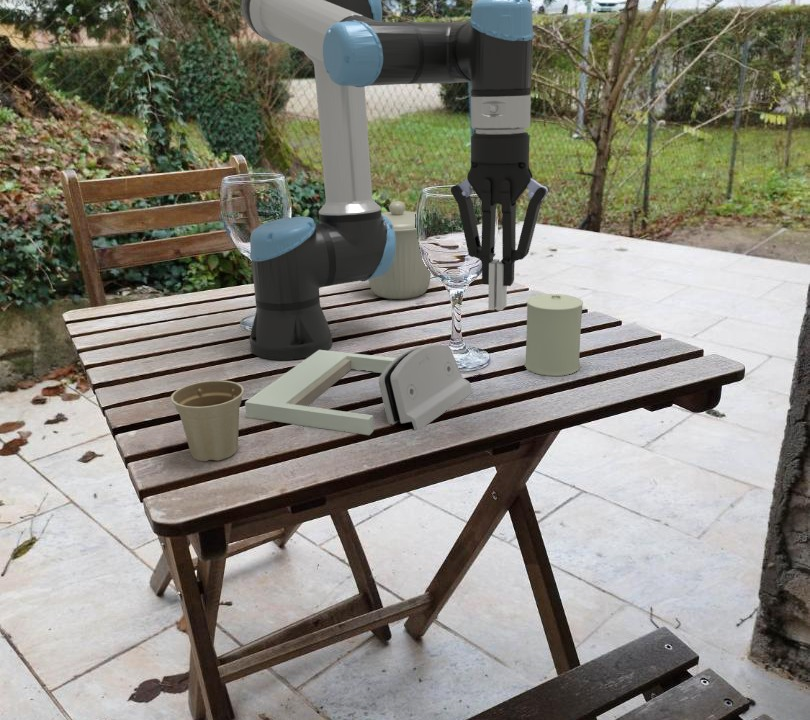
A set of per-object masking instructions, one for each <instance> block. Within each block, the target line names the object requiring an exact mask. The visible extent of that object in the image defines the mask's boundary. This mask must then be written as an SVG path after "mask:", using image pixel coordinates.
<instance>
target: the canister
mask: <svg viewBox="0 0 810 720" xmlns="http://www.w3.org/2000/svg"><path fill="white" fill-rule="evenodd" d="M388 207H389V208H388V209H389V211H385V212H381V214H382V215H383V216H385V217H387V218H388V219H389V220H390V221H391V223H392V225H393V227H392V229H393V230H394V231H395V236H396V251H395V257H394V260H393V263H392V265H391V267H390V268H389V270H388V271H387V272H386V273H385V274H384V275H382V276H380V277H377V278H372V279H369V280H368V284H369V288H370V289H371V291H372V293H374V295H376V296H378V297H380V298H382V299H389V300H405V299H407V300H408V299H412V298H416V297H419V296H421V295H424V294H426V292H427V290H428V288H429V286H430V283H431V274H432V272H431V273H430V271H429V270H428V269H427V267H426V266H425V264H424V262H423V260H422V256H421V253H420V249H419V244H418V239H417V234H416V228H415V214H416V212H417V211H406V205H405V203H404V202H402V201H400V200H396V201H392V202H391V203H390V204H389V206H388Z"/></svg>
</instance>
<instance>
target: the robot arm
mask: <svg viewBox="0 0 810 720" xmlns="http://www.w3.org/2000/svg"><path fill="white" fill-rule="evenodd" d="M241 10H242V15H243V17H244V19H245V21H246V23H247V25H248V26H249V28H250V29H251V31H253V32H254V33H255V34H256V35H258V36H259V37H261V38H263V39H264V40H266V41H269V42H270V43H276V44H284V43H287V44H288V45H291V46H292V47H294V48H296V49H298V50H300V51H302V52H303V53H304V55H305V56H306V57H307V58H308V59H310V60H311V61H312V63H313V67H314V80H315V90H316V101H317V102H316V103H317V112H318V113H317V114H318V124H319V136H320V146H321V149H320V150H321V159H322V170H323V171H322V172H323V183H324V193H325V195H324V196H325V203H324V204H323V205H322V207H320V209H319V210H318V220H319V221H318V223H316V222H315V221H314V219H313V218H311V217H310V216H300V215H299V216H294V217H293V216H292V217H290V216H288V217H283V218H279V219H274V220H271V221H267V222H265V223H263V224H260V225H258V226H257V227H255V228H254V229H253V230H252V231H251V233H250V234H251V235H250V237H249V238H250V239H249V240H250V241H249V243H250V253H249V258H250V261H251V267H252V278H253V289H254V298H255V308H256V309H255V314H254V318H253V323H252V327H251V331H250V335H249V336H250V337H249V346H250V351H251V353H252V354H253V355H254V356H256V357H259V358H262V359H267V360H276V361H277V360H278V361H291V360H299V359H307V358H308V357H310V356H311V355H312V354H314V353H315V352H317V351H318V350H326V351H329V350H330V349H331V347H332V346H333V337H332V336H333V335H332V330H331V328H330V326H329V323H328V321H327V318H326V316H325V314H324V311H323V309H322V306H321V301H320V300H321V299H320V289H321V288H324V287H331V286H336V285H342V284H349V283H355V282H367V281H369V279H372V278H377V277H380V276H382V275H384V274H385V273H386V272H387V271H388V270H389V268H390V267H391V265H392V263H393V260H394V257H395V251H396V236H395V231H394V230H393V229H392V227H393V225H392V223H391V221H390V220H389V219H388V218H387V217H385V216H383V215H382V214H381V213H382V207H381V205H379V204H378V203H377V202H376V201H375V200H374V199H373V189H372V173H371V172H372V171H371V161H370V160H371V159H370V148H369V147H370V146H369V131H368V128H369V127H368V116H367V103H366V102H367V100H366V87H372V86H391V85H393V86H394V85H415V84H416V85H418V84H419V85H422V84H423V85H424V84H439V85H440V84H441V85H443V84H455V83H457V84H458V83H470V84H471V85H470V87H471V89H470V127H471V128H472V129H473V130H475V132H474V133H472V135H471V136H470V169H469V170H468V171H467V172H468V173H467V175H466V177H467V178H465V179H464V180H463V181H461V182H460V183H457V184H455V185H452V186H451V188H450V193H451V195H452V197H453V198H454V200H455V201H456V203H457V206H458V211H459V215H460V220H461V226H462V229H463V234H464V239H465V244H466V248H467V253H468V255H469V257H472V258H476V259H478V260H480V262H481V282H482V285H487V286H488V308H487V309H488V311H495V310H496V311H503V310H504V309H505V308H506V307H507V302H508V301H507V299H508V293H507V292H508V287H511V286H512V285H513V283H514V282H515V262H517V261H519V260H521V261H522V260H523V259H525V258H526V257H527V255H528V254H529V252H530V248H531V244H532V241H533V236H534V233H535V232H534V231H535V228H536V225H537V220H538V217H539V213H540V209H541V204H542V202H543V201H544V199H545V198H546V197H547V195H548V194H549V192H550V188H549V186H547V185H546V184H544V185H543V184H541V183H539V182H538V181H536V180H535V179H534V178H533V172H532V170H531V168H530V136H531V135H530V134H529V132H527V131H526V129H528V128H529V127H531V101H532V95H531V88H532V71H533V70H532V69H533V67H532V65H533V40H534V37H535V33H534V28H533V27H534V26H533V25H534V24H533V22H534V21H533V7H532V3H531V2H530V0H476V1H474V3H472V6H471V10H470V11H471V12H470V17H469V18H470V19H469V20H467V21H456V22H454V21H453V22H452V21H451V22H449V21H448V22H447V21H446V22H445V21H444V22H443V21H441V22H440V21H439V22H437V21H436V22H435V21H434V22H433V21H431V22H429V21H428V22H425V21H416V22H415V21H403V22H400V21H399V22H398V21H383V6H382V0H241ZM527 188H528V193H527V197H528V198H529V199H530V200H529V202H528V205H527V208H526V212H525V216H524V220H523V224H522V229H521V233H520V236H519V240H518V244H517V245H516V243H517V242H516V239H517V238H516V235H517V233H516V231H517V230H516V224H517V223H516V216H517V215H516V213H517V201H518V200H519V199H520V197H521V196H522V194H523V193H524V192H525V191H526V189H527ZM472 189H473V191H474V192H475V194H476V195H477V197H478V198H479V200H480V201H481V213H482V215H481V238H480V235H479V234H480V233H479V229H478V224H477V220H476V214H475V210H474V205H473V201H472V197H471V195H472V192H473V191H472ZM498 205H500V206H501V208H500V211H501V214H502V215H501V217H502V219H501V220H502V221H501V222H502V226H501V228H502V229H501V230H502V231H501V232H502V233H501V234H502V239H501V240H502V242H501V243H502V249H501V250H502V251H501V252H502V256H501V257H502V259H501V260H500V259H499V258H498V259H497V258H494V257H496V253H495V247H496V245H495V241H496V213H497V211H496V210H497V207H498ZM516 246H517V247H516Z"/></svg>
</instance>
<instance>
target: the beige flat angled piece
mask: <svg viewBox="0 0 810 720" xmlns="http://www.w3.org/2000/svg"><path fill="white" fill-rule="evenodd" d="M396 358H397V357H389V356H388V357H387V356H382V355H371V354H363V353H362V354H361V353H354V352H353V353H352V352H343V351H336V350H335V351H333V350H327V351H326V350H318V351H317V352H315V353H314V354H312V355H311V356H310V357H307V358H304V360H303V361H301V362H300V363H298V364H297V365H295V366H294V367H292V368H291V369H290V370H288V371H287V372H285V373H284V374H283V375H281V376H280V377H278V378H277V379H276V380H274V381H273V382H271V383H269V384H268V385H267V386H265V387H264V388H263V389H261V390H260V391H259V392H257V393H256V394H254V395H253V396H252V397H250V398H248V399H247V400H246V401H244V409H245V415H246V416H245V417H246V418H251V419H256V420H257V419H258V420H264V421H265V420H266V421H270V422H271V421H272V422H278V423H285V424H291V425H296V426H297V425H298V426H304V427H311V428H318V429H325V430H330V431H337V432H344V431H345V433H353V434H357V433H358V434H359V435H365V436H370V435H371V434H372V433H373V432H374V416H373V415H372V414H367V413H359V412H358V413H357V412H351V411H344V410H343V411H342V410H338V409H337V410H336V409H330V408H323V407H315V406H309V405H310V404H312V403H313V402H314V401H315V400H316V399H318V398H319V397H320V396H321V395H323V394H324V393H325V392H326V391H327V390H329V389H330V388H331V387H332V386H333V385H334V384H336V383H337V382H338V381H339V380H341V379H342V378H343V377H344V376H346V375H347V374H348V373H349V372H350V371H352V370H351V369H356V370H355V371H360V370H366V371H365V372H368V371H373V372H372V373H377V374H378V373H379V374H382V373H383V371H384V370H385V369H386V367H387V366H388V365H389V364H390V363H391V362H392V361H394V360H395V359H396ZM357 369H358V370H357ZM349 370H350V371H349ZM348 371H349V372H348ZM347 372H348V373H347ZM346 373H347V374H346ZM345 374H346V375H345ZM343 375H344V376H343ZM342 376H343V377H342ZM341 377H342V378H341ZM340 378H341V379H340ZM307 405H308V406H307Z"/></svg>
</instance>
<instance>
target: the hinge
mask: <svg viewBox="0 0 810 720" xmlns="http://www.w3.org/2000/svg"><path fill="white" fill-rule="evenodd" d="M395 358H396V359H395V360H394V361H392V362H391V363H390V364H389V365H388V366H387V367H386V369H385V370H384V371H383V373H380V375H379V378H378V387H379V389H380V394H381V395H380V396H381V398H382V402H383V406H384V411H385V415H386V420H387V423H390V424H392V425H393V426H394V425H395V424H397V423H398V422H400V424H406V423H412V426H413V429H414V431H416V432H418V431H419V432H420V430H422V429H423V428H424V427H426V426H427V425H429V424H431V422H434V420H436V419H438V418H439V417H440V416H441V415H444V413H446V412H447V411H449V410H450V409H452V408H453V407H455V406H456V405H458V404H459V403H460V402H462V401H463V400H465V399H466V398H468V397H469V396H471V395H472V394H473V393H474V392H473V388H472V385H471V382H470V381H469V380H467V379H466V378H464V377H463V376H462V373H461V371H460V368H459V366H458V364H457V361H456V359H455V357H454V354H453V351H452V349H451V347H450V346H449V345H444V344H430V345H424V346H419V347H416V348H412V349H411V350H408V351H405V352H404V353H402V354H400V355H398V356H397V357H395ZM472 392H473V393H472ZM471 393H472V394H471ZM464 398H465V399H464ZM461 400H462V401H461ZM454 405H455V406H454ZM452 406H453V407H452ZM451 407H452V408H451ZM448 409H449V410H448ZM446 410H447V411H446ZM445 411H446V412H445ZM390 424H389V425H390ZM392 425H391V426H392Z"/></svg>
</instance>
